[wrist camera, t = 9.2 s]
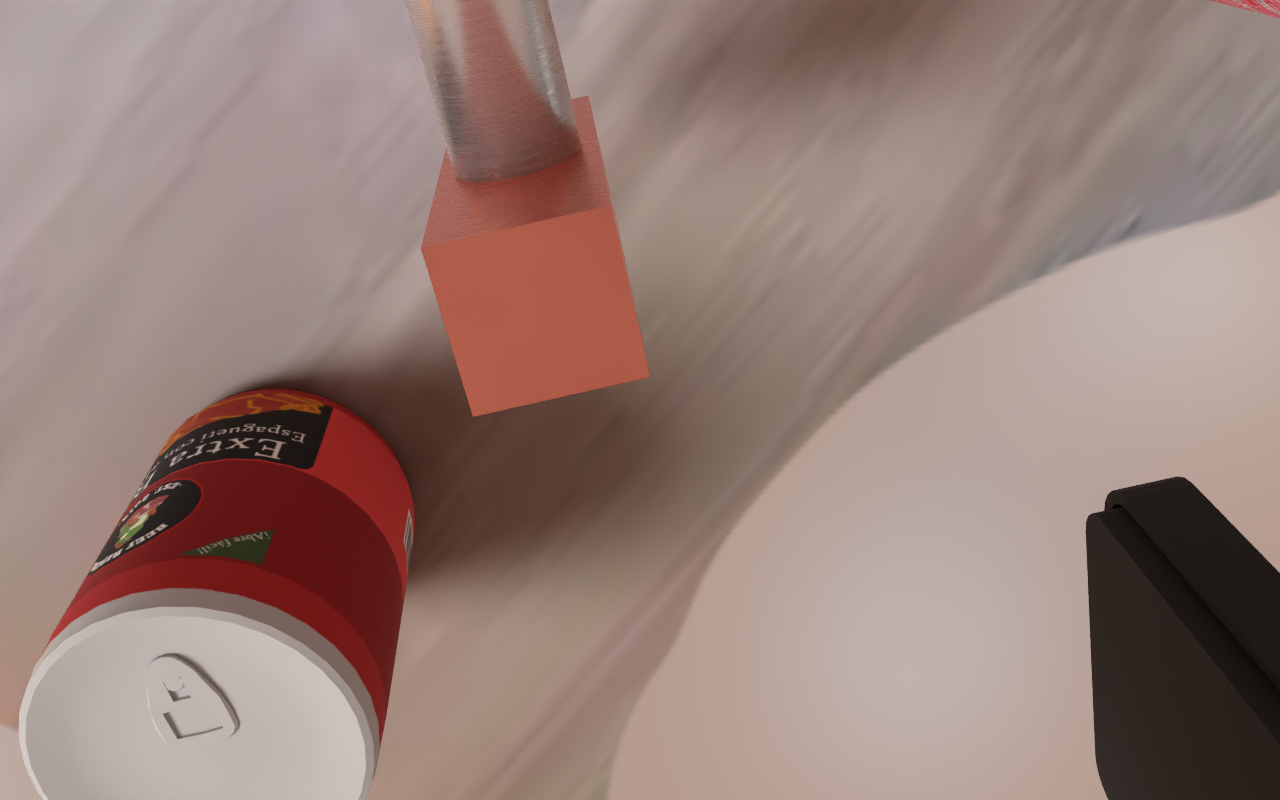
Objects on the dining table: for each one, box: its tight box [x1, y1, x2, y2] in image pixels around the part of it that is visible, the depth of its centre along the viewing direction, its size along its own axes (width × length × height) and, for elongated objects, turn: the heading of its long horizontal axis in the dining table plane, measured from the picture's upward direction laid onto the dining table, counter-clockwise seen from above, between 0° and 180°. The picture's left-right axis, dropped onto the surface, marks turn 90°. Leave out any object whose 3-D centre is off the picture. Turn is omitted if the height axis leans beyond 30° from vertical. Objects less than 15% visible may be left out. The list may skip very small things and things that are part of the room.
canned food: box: [19, 389, 415, 800], centre depth 31 cm, size 8×8×11 cm
